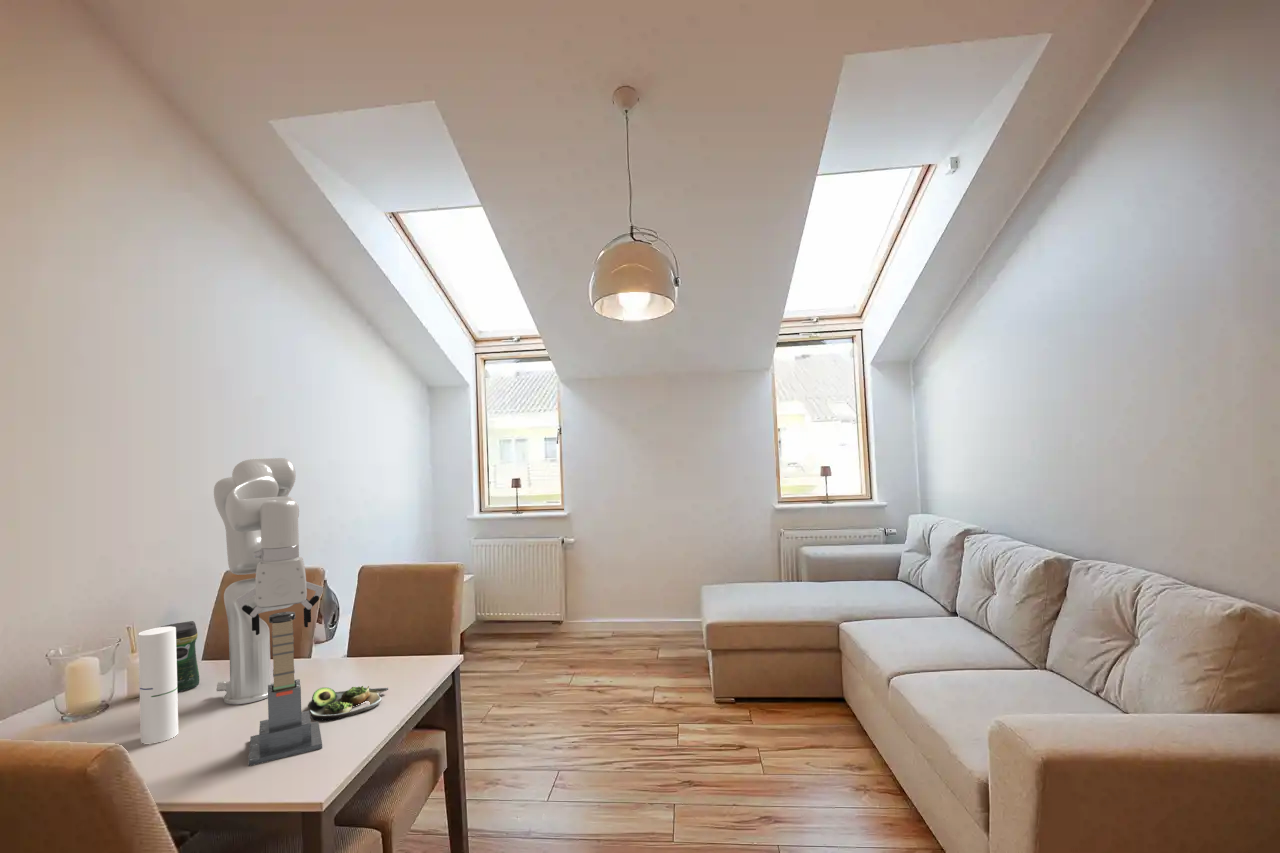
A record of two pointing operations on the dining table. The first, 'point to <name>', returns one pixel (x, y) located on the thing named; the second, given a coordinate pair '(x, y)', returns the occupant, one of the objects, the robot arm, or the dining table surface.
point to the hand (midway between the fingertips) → (282, 629)
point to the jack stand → (284, 728)
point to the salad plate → (342, 702)
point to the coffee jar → (186, 655)
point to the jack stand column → (283, 650)
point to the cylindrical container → (158, 684)
